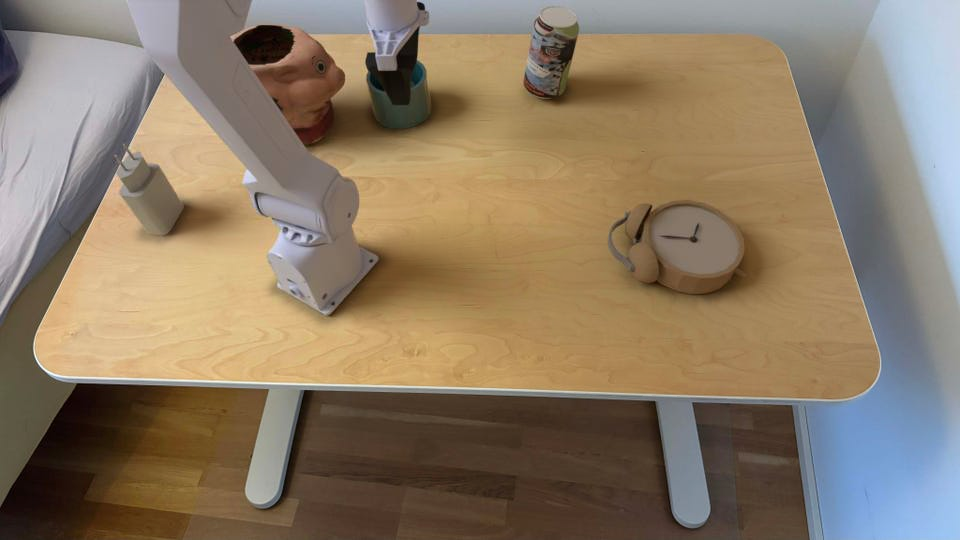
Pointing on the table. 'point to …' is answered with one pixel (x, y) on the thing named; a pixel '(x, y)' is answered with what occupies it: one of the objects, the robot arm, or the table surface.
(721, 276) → the alarm clock
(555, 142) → the table surface
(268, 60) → the decorative planter
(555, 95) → the beverage can
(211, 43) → the robot arm
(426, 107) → the cup
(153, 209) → the power adapter
